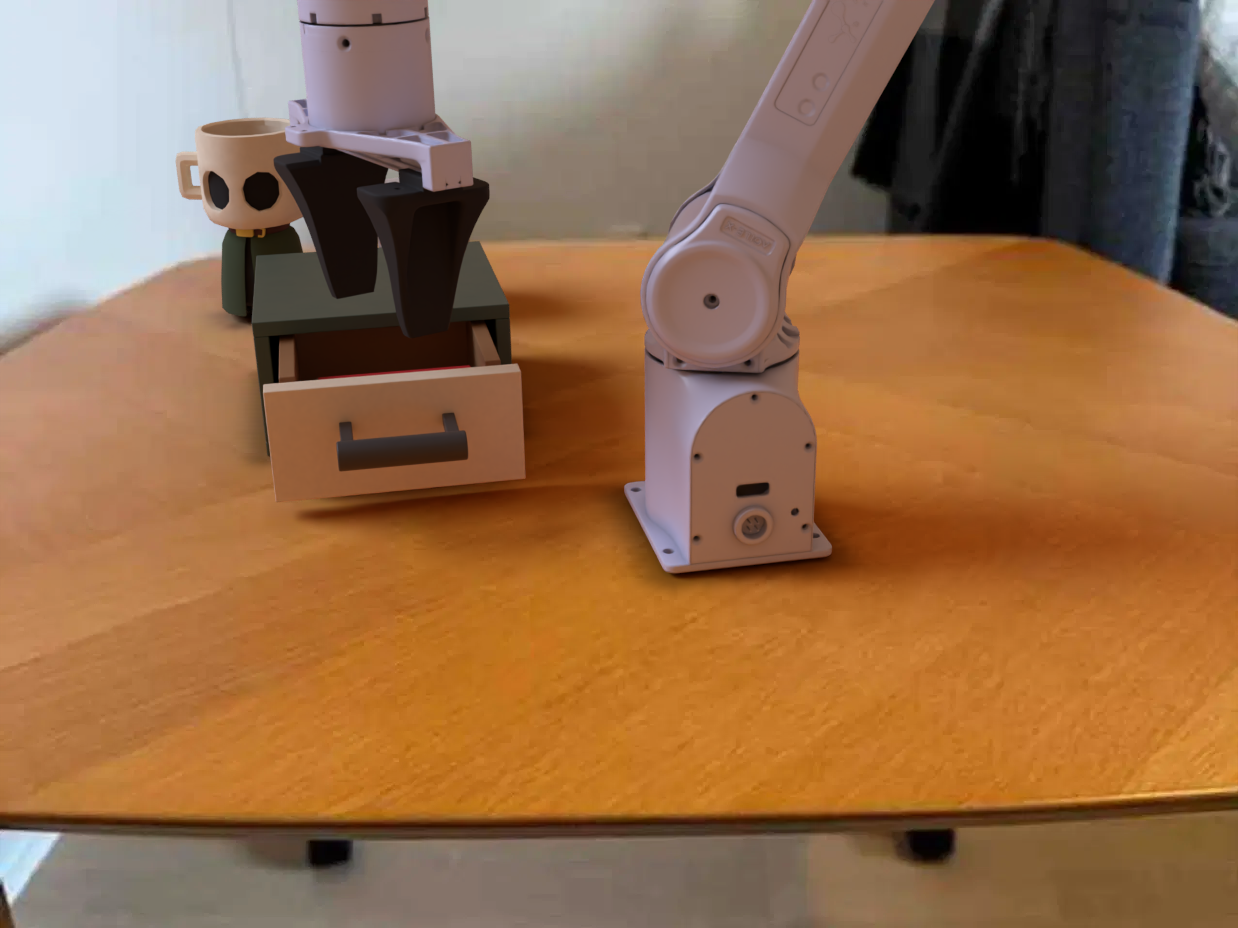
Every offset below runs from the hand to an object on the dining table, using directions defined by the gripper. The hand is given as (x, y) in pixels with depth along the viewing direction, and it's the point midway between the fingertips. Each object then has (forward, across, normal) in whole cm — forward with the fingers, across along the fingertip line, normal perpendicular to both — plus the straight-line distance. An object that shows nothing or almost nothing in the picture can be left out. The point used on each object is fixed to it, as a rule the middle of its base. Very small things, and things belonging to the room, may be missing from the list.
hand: (388, 312), depth 70 cm
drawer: (+9, -3, +1) cm, 10 cm away
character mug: (+10, -34, +7) cm, 36 cm away
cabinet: (+10, -13, +6) cm, 17 cm away
